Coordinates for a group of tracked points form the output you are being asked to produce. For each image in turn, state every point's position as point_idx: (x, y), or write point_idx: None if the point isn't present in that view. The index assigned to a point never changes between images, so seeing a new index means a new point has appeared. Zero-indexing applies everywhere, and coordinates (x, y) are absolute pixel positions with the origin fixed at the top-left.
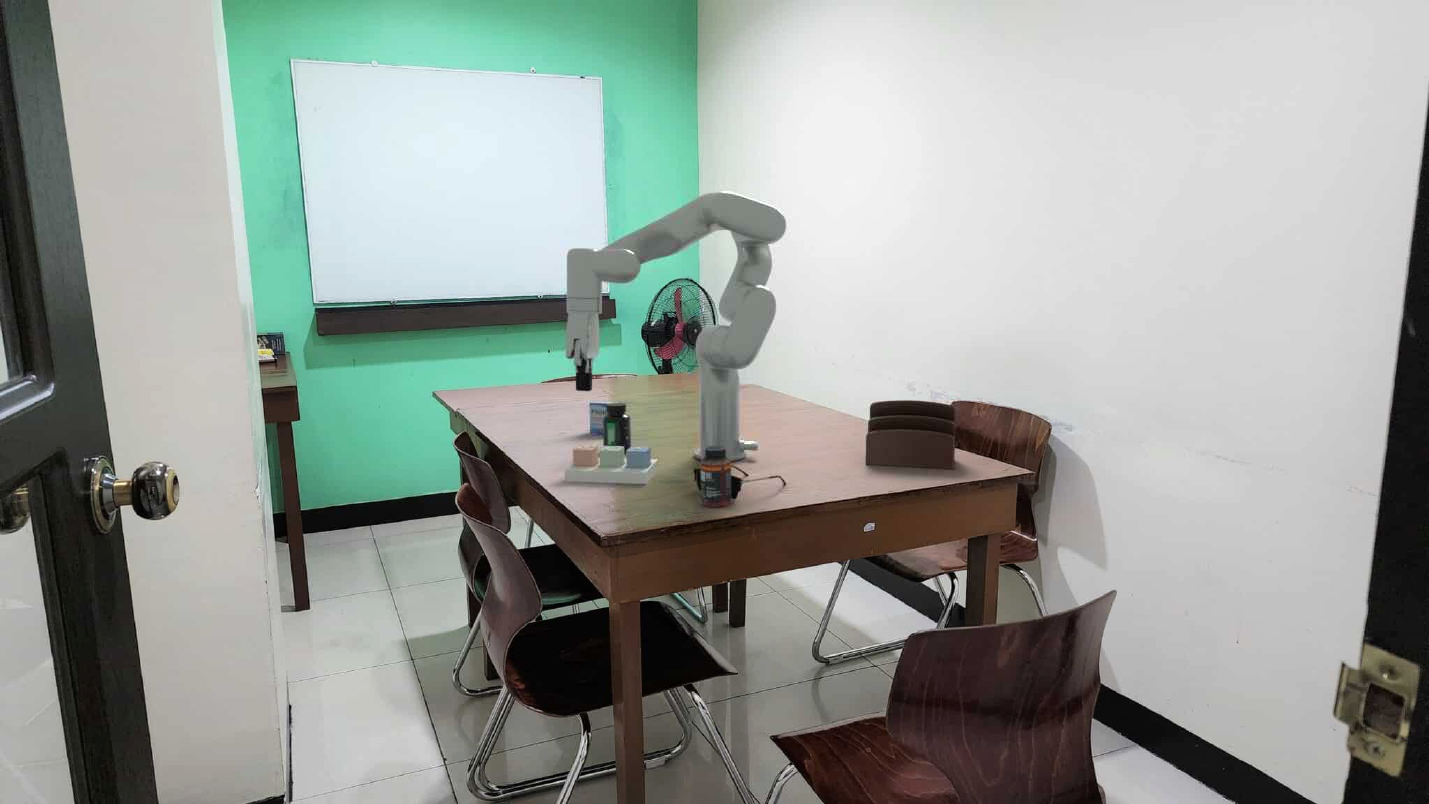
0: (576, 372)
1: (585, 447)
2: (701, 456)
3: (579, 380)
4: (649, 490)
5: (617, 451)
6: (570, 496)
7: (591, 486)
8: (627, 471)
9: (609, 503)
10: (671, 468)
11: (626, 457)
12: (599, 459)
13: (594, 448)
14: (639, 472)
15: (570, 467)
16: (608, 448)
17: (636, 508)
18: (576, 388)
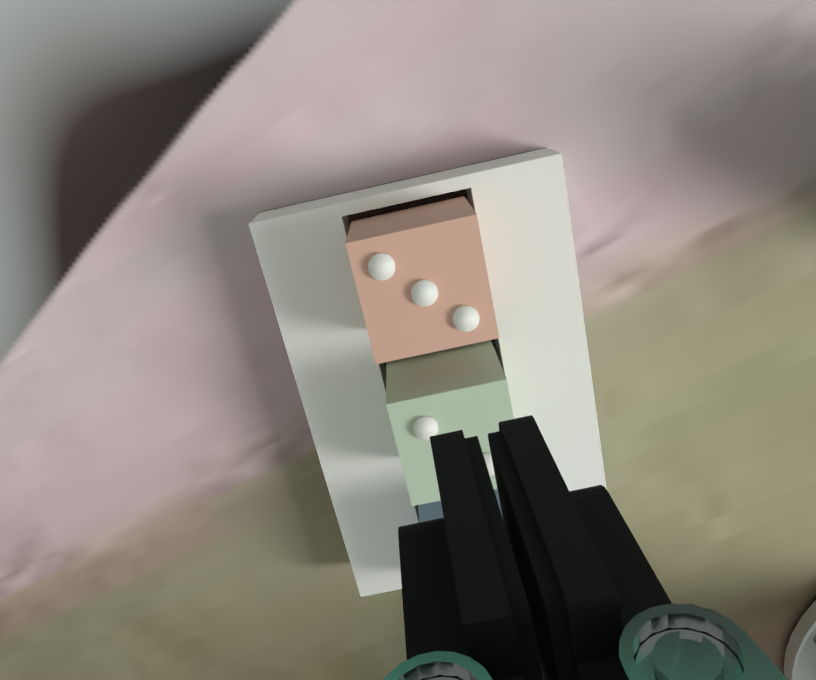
0: (401, 673)
1: (411, 300)
2: (813, 623)
3: (408, 598)
4: (282, 606)
5: (409, 496)
6: (52, 371)
7: (237, 376)
8: (349, 521)
9: (50, 555)
10: (645, 549)
11: (419, 518)
12: (539, 284)
13: (423, 353)
14: (353, 572)
15: (316, 223)
16: (447, 429)
17: (47, 657)
18: (435, 450)
